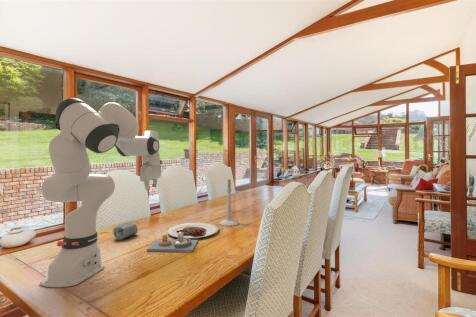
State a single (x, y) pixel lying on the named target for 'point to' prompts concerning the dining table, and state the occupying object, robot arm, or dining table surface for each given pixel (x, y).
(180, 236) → the silver rounded piece
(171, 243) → the carrier
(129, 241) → the dining table surface
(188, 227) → the plated food
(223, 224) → the grey rod on disc
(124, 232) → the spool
